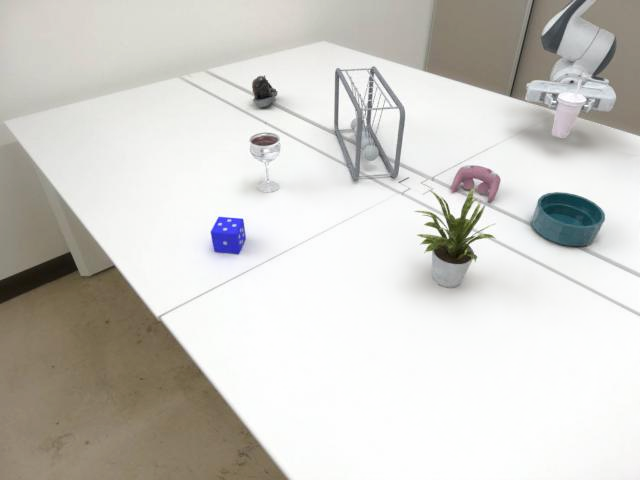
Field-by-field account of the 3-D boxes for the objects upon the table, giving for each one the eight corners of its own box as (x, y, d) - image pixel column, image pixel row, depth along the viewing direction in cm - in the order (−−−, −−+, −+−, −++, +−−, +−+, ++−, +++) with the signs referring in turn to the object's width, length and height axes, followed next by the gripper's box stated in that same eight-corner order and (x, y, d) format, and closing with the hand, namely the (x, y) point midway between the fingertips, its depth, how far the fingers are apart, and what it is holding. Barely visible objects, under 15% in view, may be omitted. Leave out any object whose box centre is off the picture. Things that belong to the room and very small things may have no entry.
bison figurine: (257, 96, 149) (254, 64, 143) (279, 96, 149) (277, 65, 142) (252, 111, 140) (248, 78, 133) (275, 111, 139) (272, 78, 133)
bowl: (583, 213, 97) (592, 194, 94) (604, 250, 88) (614, 229, 85) (524, 210, 98) (531, 190, 95) (538, 245, 89) (546, 225, 86)
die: (214, 252, 88) (210, 231, 85) (221, 236, 92) (218, 216, 88) (239, 254, 87) (236, 234, 84) (246, 238, 91) (243, 218, 88)
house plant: (415, 240, 90) (427, 168, 80) (487, 257, 86) (510, 183, 76) (398, 288, 80) (409, 212, 70) (479, 309, 76) (504, 232, 66)
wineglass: (262, 197, 102) (257, 149, 95) (249, 184, 107) (243, 137, 99) (288, 188, 105) (286, 141, 98) (274, 175, 110) (270, 129, 102)
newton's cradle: (398, 181, 108) (406, 109, 97) (354, 184, 107) (358, 111, 95) (369, 126, 131) (374, 63, 120) (333, 129, 130) (334, 65, 119)
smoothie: (565, 142, 112) (585, 86, 103) (540, 133, 116) (558, 78, 107) (577, 134, 115) (598, 79, 106) (554, 126, 119) (572, 72, 110)
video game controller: (495, 202, 103) (505, 172, 102) (492, 203, 99) (503, 172, 98) (452, 190, 107) (461, 161, 105) (448, 191, 103) (457, 160, 101)
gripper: (529, 70, 121) (527, 88, 111) (615, 80, 115) (621, 100, 105) (523, 94, 125) (520, 113, 115) (606, 104, 119) (610, 125, 109)
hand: (569, 107), depth 110 cm, fingers closed on smoothie, 6 cm apart
